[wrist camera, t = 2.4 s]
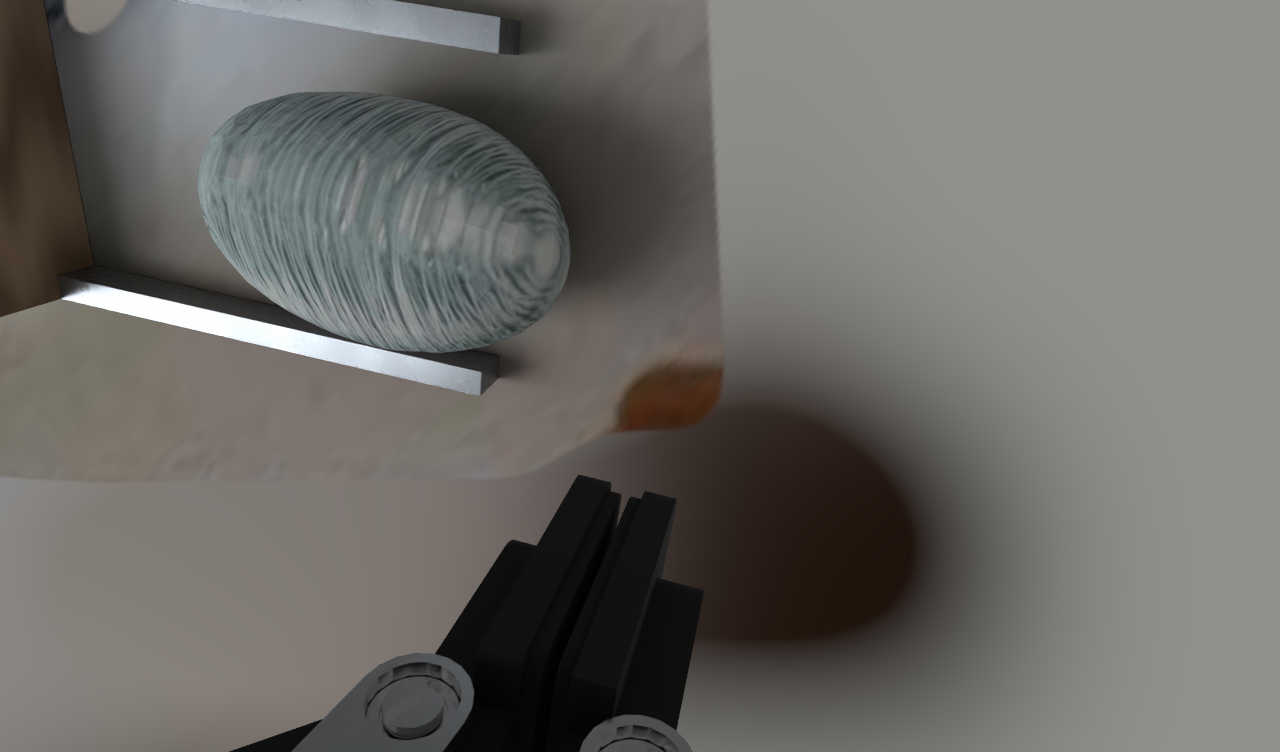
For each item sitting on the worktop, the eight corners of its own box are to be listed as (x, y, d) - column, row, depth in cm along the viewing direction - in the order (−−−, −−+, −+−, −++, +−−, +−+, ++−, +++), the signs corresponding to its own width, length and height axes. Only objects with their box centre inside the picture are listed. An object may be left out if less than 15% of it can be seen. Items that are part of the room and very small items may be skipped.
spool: (232, 304, 31) (96, 275, 21) (292, 99, 31) (186, -24, 21) (533, 386, 33) (538, 394, 23) (587, 193, 33) (614, 122, 24)
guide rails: (32, -56, 30) (-17, -65, 28) (520, 21, 27) (500, 17, 25) (98, 287, 36) (61, 298, 34) (497, 378, 33) (479, 396, 32)
